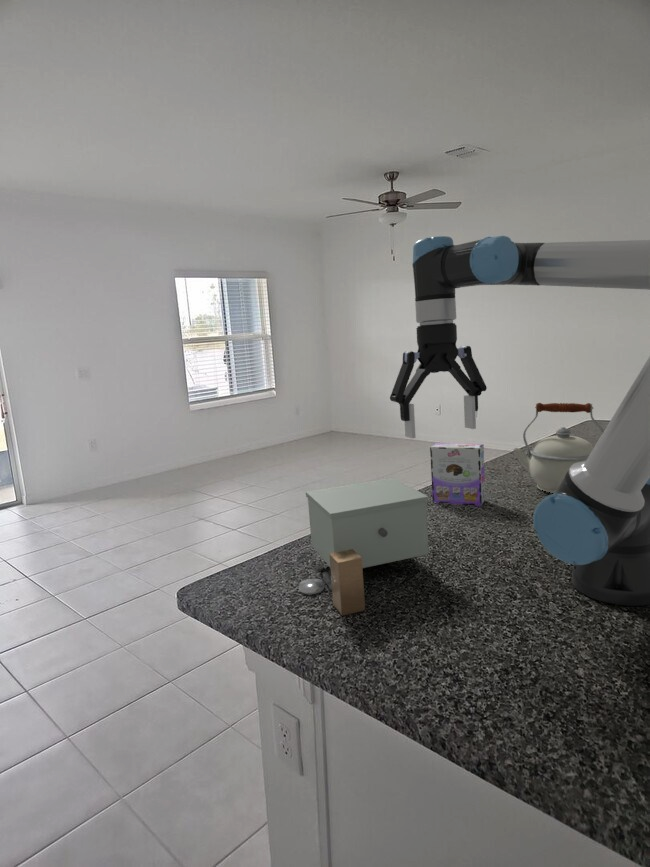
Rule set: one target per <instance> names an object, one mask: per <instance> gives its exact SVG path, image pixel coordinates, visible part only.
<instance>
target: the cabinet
mask: <svg viewBox="0 0 650 867" xmlns="http://www.w3.org/2000/svg"><path fill="white" fill-rule="evenodd" d="M305 497H306V498H307V505H308V518H309V527H310V541H311V547H312V548H313V549H314V550H315V552H316V553H318V555H319V556H320V557H321V558H322V559H323V561H324V562H325V563H326V564H327V565H328V567H330V555H329V554H330V553H335V552H340V551H345V550H350V549H353V550H354V551H355V552H356V553H357V554H358V555H359V556H360V557H362V569H366V568H371V567H374V566H379V565H384V564H389V563H393V562H397V561H402V560H406V559H407V560H408V559H412V558H417V557H421V556H422V557H423V556H425V555H427V556H428V555H429V553H430V552H429V534H428V531H429V529H428V509H427V508H428V504H427V502H429V496H428V495H426V494H425V493H422V492H421V491H419V490H417V489H415V488H413V487H412V486H410V485H408V484H405V483H404V482H402V481H400V480H398V479H396V478H394V477H390V478H389V477H388V478H382V479H377V480H370V481H365V482H358V483H351V484H346V485H341V486H340V485H339V486H332V487H327V488H326V487H325V488H321V489H314V490H309V491H305Z"/></svg>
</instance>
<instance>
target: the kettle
mask: <svg viewBox="0 0 650 867" xmlns="http://www.w3.org/2000/svg"><path fill="white" fill-rule="evenodd" d="M593 409H594V406H593V403H590V402H589V403H585V404H582V403H575V402H574V403H573V402H571V403H570V402H569V403H568V402H566V403H565V402H563V403H562V402H561V403H558V402H557V403H556V402H554V403H553V402H550V403H541V402H537V403H536V404H535V417H534V418H533V419H532V421H531V422H530V423H528V425H527V426H526V428H525V429H524V431H523V434H522V435H523V436H522V437H523V442H524V445H525V447H526V450H527V452H525V454H524V453H523V451H522V450H521V448H520V447H516V448H512V450H513V452H514V454H515V456H516V457H517V459H518V460H519V462H520V464H521V465H522V466H523V468H525V469H526V471H528V472H529V475H530V476H531V478H532V480H533V481H534V482H535V483H537V484H536V487H537V488H538V489H539V490H540V491H542V490H543V491H542V492H544V491H546V492H545V493H547V492H550V493H549V494H552V493H554V492H555V491H556V490H557V488H558V487H559V485H560V483H561V481H562V480H563V478H564V477H565V475H566V473H567V472H568V470H569V468H570V467H571V466H572V465H573V464H574V463H578V462H583V461H586V460H587V458H588V457H589V455H590V453H591V452H592V450H593V449H594V446H593V445H592V443H591V442H590V441H589V440H586V439H585V438H581V437H579V436H575V435H571V434H572V432H571V430H569V429H568V428H567V427H566V426H565V427H564V426H563V427H561V428H559V429H557V430H556V431H555V434H556V435H552V436H546V437H544V438H542V439H540V440H539V441H537V442H536V444H535V445H534V447H533V448H532V449H531V448H530V446H529V444H528V441H527V437H526V432H527V431H528V429H529V427H530V426H531V425H532V423H534V421H535V420H536V419H537V417H539V416H538V415H539V413H541V412H549V413H581V412H585V413H586V414H590V419H591V421H592V422H593V423H594V424H595V425H596V426H597V427H598V428H599V430H600V431H601V432H602V433H603V432H604V430H605V429H603V428H602V426H601V425H600V424H599V423H598V422H597V421H596V420H595V418H594V416H593Z"/></svg>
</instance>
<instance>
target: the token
mask: <svg viewBox="0 0 650 867" xmlns="http://www.w3.org/2000/svg"><path fill="white" fill-rule="evenodd" d="M323 590H325V581H324V580H323V579H319V578H307V579H303V580H302V581H301V582H299V583H298V591H299V592H300V593H302V594H304V595H317V594H320V593H321V592H323Z"/></svg>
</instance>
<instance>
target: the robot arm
mask: <svg viewBox="0 0 650 867" xmlns="http://www.w3.org/2000/svg"><path fill="white" fill-rule="evenodd" d="M411 265H412V272H413V283H414V297H415V298H414V303H415V322H416V323H418V324H419V325H418V326H416V343H417V346H418V348H417V352H414V351H412V350H410V351H408V350H407V351H404V352H403V353H402V364H401V366H400V369H399V371H398V375H397V378H396V380H395V383H394V385H393V388H392V391H391V393H390V396H389V399H390V401H391V402H394V403H398V405H399V412H400V413H399V414H400V419H401V421H403V422H404V434H405V435H404V436H405V437H407V438H410V439H416V436H417V435H416V420H415V418H416V417H415V403H411V402H412V400H413V398H414V397H415V395H416V393H417V392H418V391H419V389H420V387H421V386H422V384H423V383H424V382H425V380H426V378H427V377H428V376H429V375H430V374H435V373H440V372H443V373H446V372H448V373H449V374H450V375H451V376H452V377H453V378H454V379H455V380H456V382H457V383H458V384H459V385H460V387H461V388H462V389H463V391H465V393H466V395H463V409H464V412H463V413H464V416H463V417H464V428H467V429H471V430H475V429H477V422H476V416H477V415H476V412H478V410H479V396H481V395H482V392H486V391H487V388H488V387H487V385H486V383H485V380H484V378H483V377H482V374H481V373H480V370H479V367H478V366H477V364H476V361H475V360H474V357H473V354H472V347H471V346H470V345H460V346H459V347H457V340H458V333H457V332H458V331H457V327H458V326H457V324H456V322H454V321H456V319H457V308H456V307H457V304H456V289H459V288H466V287H474V286H475V287H476V286H504V285H507V286H511V285H512V286H513V285H514V286H537V287H538V286H544V287H545V286H546V287H548V286H549V287H571V288H573V287H574V288H576V287H577V288H597V289H599V288H600V289H601V288H602V289H622V290H623V289H625V290H627V289H628V290H645V291H646V290H650V239H635V240H633V239H632V240H631V239H629V240H598V241H594V240H593V241H592V240H591V241H561V242H560V241H559V242H558V241H555V242H514V241H512V239H511V238H510V237H509V236H507V235H499V236H486V237H483V238H481V239H477V240H474V241H473V240H472V241H469V242H464V243H461V244H457V245H455V244H454V240H453V238H452V237H450V236H441V235H440V236H430V237H425V238H421V239H418V240H417V241H416V242H415V243H414V244H413V247H412V264H411ZM457 357H458V358H459V360H460V362H461V364H462V366H463V368H464V370H465V372H466V373H467V375H466V374H465V372H464V370H463V369H462V368H461V366H460V364H459V363H458V362H457V360H456V359H457ZM417 360H418V362H419V365H418V367H417V368H416V369H415V373H413V374H414V375H413V376H412V378H411V379H410V377H411V375H412V372H413V370H414V366H415V364H416V362H417ZM409 380H410V381H409ZM625 394H626V395H625V396H624V398H623V399H622V401H621V403H620V405H619V406H618V408H617V409H616V411H615V413H614V414H613V416H612V417H611V419H610V421H609V423H608V424H607V426H606V427H605V429H603V430H604V432H602V434H601V436H600V437H599V439H598V440H597V442H596V444H595V445H594V446H593V448H594V449H593V450H592V452H591V453H590V455H589V457H588V458H587V460H586V461H583V462H578V463H574V464H573V465H572V466H571V467H570V468H569V470H568V472H567V473H566V475H565V477H564V478H563V480H562V481H561V483H560V485H559V487H558V488H557V490H556V491H555V492H554V493H553V494H552V493H549V495H547V496H545V497H543V499H542V500H541V501H540V502H539V503H538V504H537V505H536V508H535V509H534V513H533V516H532V517H533V521H532V522H533V523H532V524H533V529H534V530H535V531H536V534H537V538H538V540H539V542H540V543H541V545H542V546H543V548H544V549H545V550H546V551H547V552H549V554H551V555H552V556H553V557H555V558H556V559H558V560H560V561H561V562H564V563H566V564H569V565H573V567H572V571H571V572H572V573H571V582H572V586H573V587H574V589H576V590H577V591H578V592H580V593H581V594H582V595H584V596H587V597H588V598H591V599H593V600H597V601H600V602H604V603H606V604H607V603H608V604H612V605H617V606H618V605H619V606H625V607H626V606H627V607H629V606H630V607H639V606H648V605H650V355H649V357H648V358H647V359H646V361H645V363H644V364H643V366H642V368H641V370H640V371H639V373H638V375H637V377H636V378H635V379H634V381H633V383H632V385H631V386H630V388H629V389H628V391H627V393H625Z"/></svg>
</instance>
